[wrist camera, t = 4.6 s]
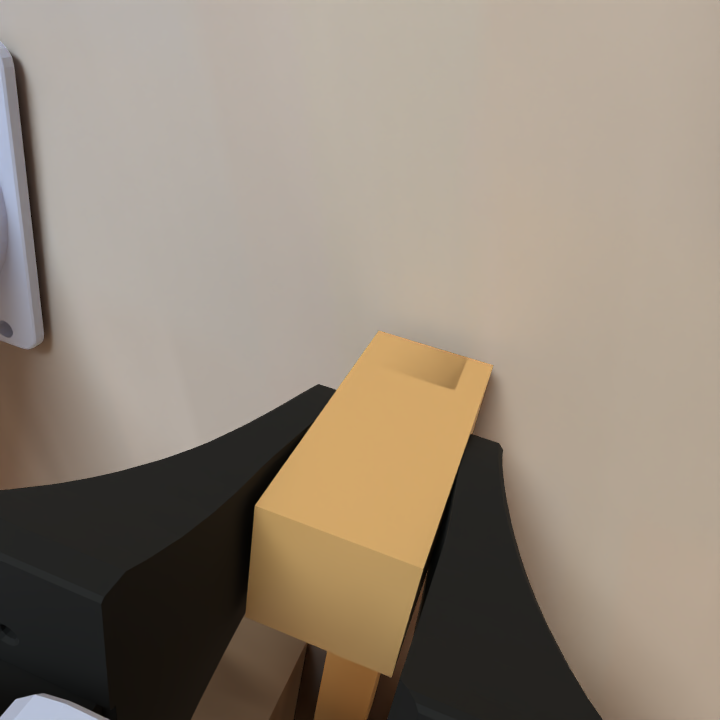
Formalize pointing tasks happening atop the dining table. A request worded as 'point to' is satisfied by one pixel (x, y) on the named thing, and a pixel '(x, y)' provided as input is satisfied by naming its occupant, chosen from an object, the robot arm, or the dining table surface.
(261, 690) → the walnut l-shaped block
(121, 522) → the robot arm
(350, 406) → the light wooden mallet
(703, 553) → the dining table surface
